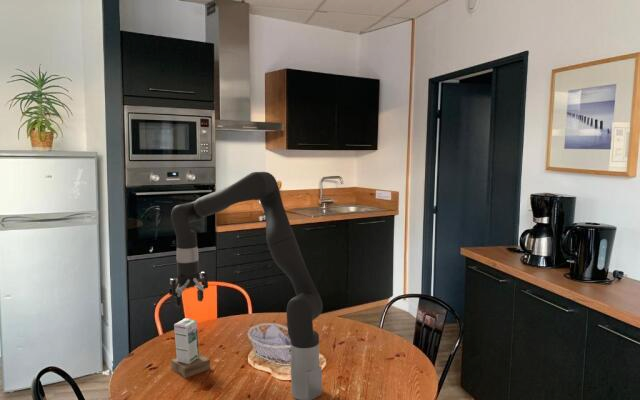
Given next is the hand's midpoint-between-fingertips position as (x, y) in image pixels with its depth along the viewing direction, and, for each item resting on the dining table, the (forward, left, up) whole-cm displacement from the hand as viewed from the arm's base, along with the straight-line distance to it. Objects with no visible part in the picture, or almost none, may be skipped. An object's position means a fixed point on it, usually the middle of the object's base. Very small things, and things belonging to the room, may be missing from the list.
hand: (189, 303), depth 171 cm
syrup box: (0, +1, -21) cm, 21 cm away
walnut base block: (0, +1, -25) cm, 25 cm away
